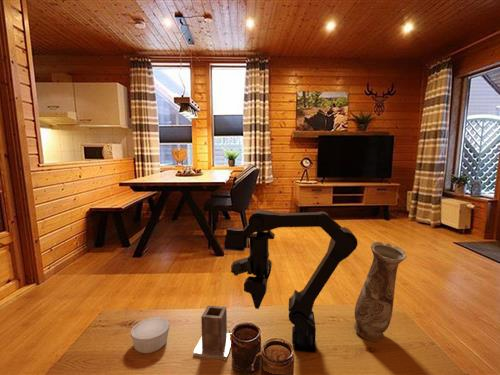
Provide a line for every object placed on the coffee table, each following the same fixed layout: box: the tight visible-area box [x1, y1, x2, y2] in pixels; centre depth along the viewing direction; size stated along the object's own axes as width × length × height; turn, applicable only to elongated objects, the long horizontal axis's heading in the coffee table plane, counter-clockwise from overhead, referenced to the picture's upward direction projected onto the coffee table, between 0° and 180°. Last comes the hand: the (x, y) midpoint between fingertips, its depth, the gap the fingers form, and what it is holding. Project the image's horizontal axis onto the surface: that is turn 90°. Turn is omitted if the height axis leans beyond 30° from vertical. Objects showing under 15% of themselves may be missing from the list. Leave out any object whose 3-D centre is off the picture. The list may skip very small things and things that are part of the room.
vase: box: [353, 241, 407, 342], centre depth 81 cm, size 10×11×30 cm
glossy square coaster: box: [192, 332, 232, 361], centre depth 80 cm, size 10×10×5 cm
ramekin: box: [130, 316, 170, 354], centre depth 81 cm, size 11×11×5 cm
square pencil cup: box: [200, 305, 228, 351], centre depth 79 cm, size 6×6×10 cm
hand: (259, 300), depth 81 cm, fingers open, 9 cm apart
